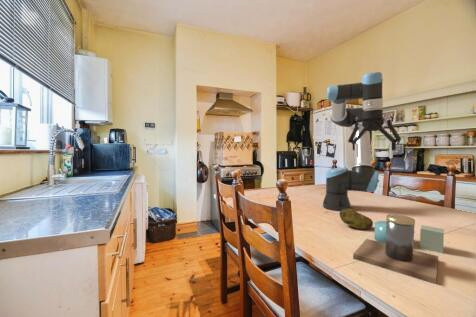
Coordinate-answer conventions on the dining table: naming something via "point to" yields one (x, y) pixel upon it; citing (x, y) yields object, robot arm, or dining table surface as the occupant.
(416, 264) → the walnut board
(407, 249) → the tea tin
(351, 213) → the potato
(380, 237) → the teal domed cylinder
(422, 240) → the sage box
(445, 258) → the dining table surface
